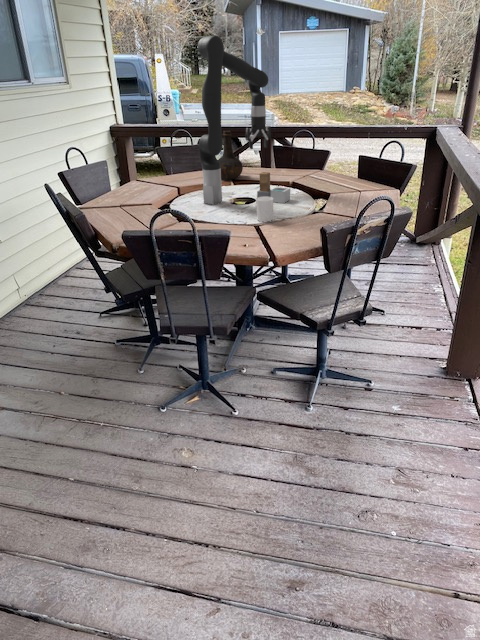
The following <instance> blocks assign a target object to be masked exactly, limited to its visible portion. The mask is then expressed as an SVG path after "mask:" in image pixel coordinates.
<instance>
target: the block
mask: <svg viewBox="0 0 480 640" xmlns="http://www.w3.org/2000/svg"><path fill="white" fill-rule="evenodd" d="M259 190H260V191H263V192H267V191H269V190H271V172H269V171H267V172H266V171H262V172H260V173H259Z"/></svg>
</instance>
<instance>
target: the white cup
mask: <svg viewBox="0 0 480 640" xmlns="http://www.w3.org/2000/svg"><path fill="white" fill-rule="evenodd" d="M255 201H256V202H255V205H256V217H257V219H256V220H257V221H258V220H259V221H270V222H272V221H273V214H274V202H273V198H272V197H267V196H263V197H258V198H257V197H256V198H255ZM271 220H272V221H271ZM259 221H258V222H259Z"/></svg>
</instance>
